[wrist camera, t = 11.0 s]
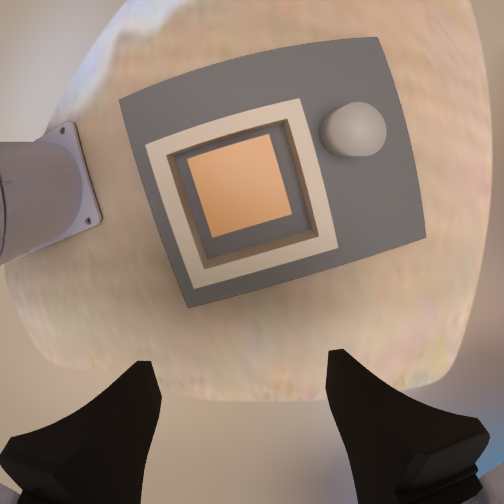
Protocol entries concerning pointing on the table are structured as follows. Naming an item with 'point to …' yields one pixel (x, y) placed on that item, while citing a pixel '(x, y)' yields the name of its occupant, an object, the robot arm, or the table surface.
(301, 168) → the board
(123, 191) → the table surface
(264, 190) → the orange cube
